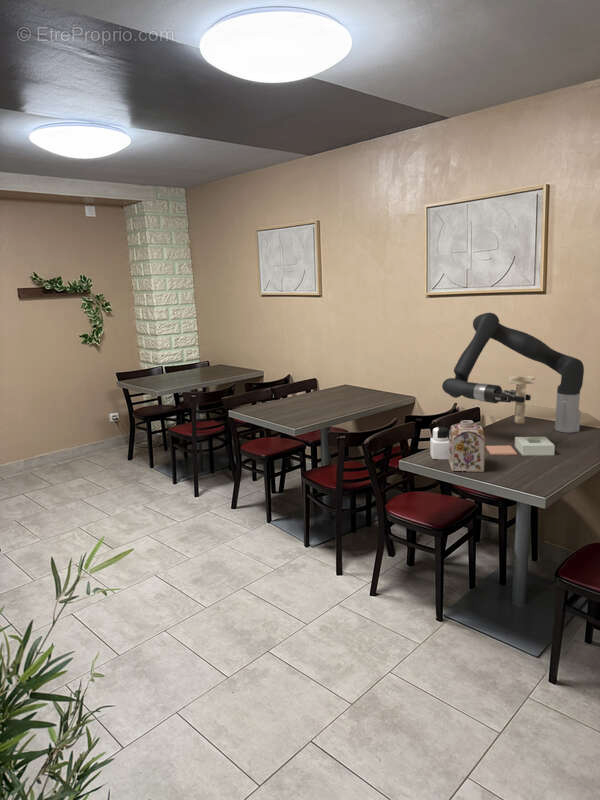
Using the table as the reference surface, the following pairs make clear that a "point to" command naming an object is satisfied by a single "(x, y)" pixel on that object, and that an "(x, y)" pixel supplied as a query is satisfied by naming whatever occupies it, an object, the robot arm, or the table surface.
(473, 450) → the decorative jar
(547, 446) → the socket block
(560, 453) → the table surface
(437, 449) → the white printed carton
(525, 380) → the t key
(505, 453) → the mat
